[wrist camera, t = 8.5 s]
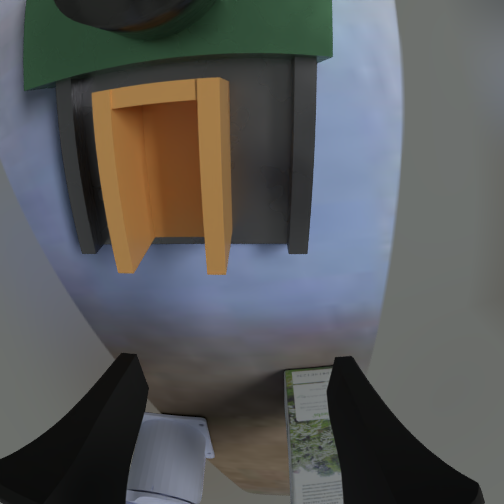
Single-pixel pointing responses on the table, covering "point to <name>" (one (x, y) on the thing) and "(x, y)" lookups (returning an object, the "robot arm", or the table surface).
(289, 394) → the syrup box
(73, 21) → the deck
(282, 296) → the table surface
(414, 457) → the robot arm
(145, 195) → the tan arch block
